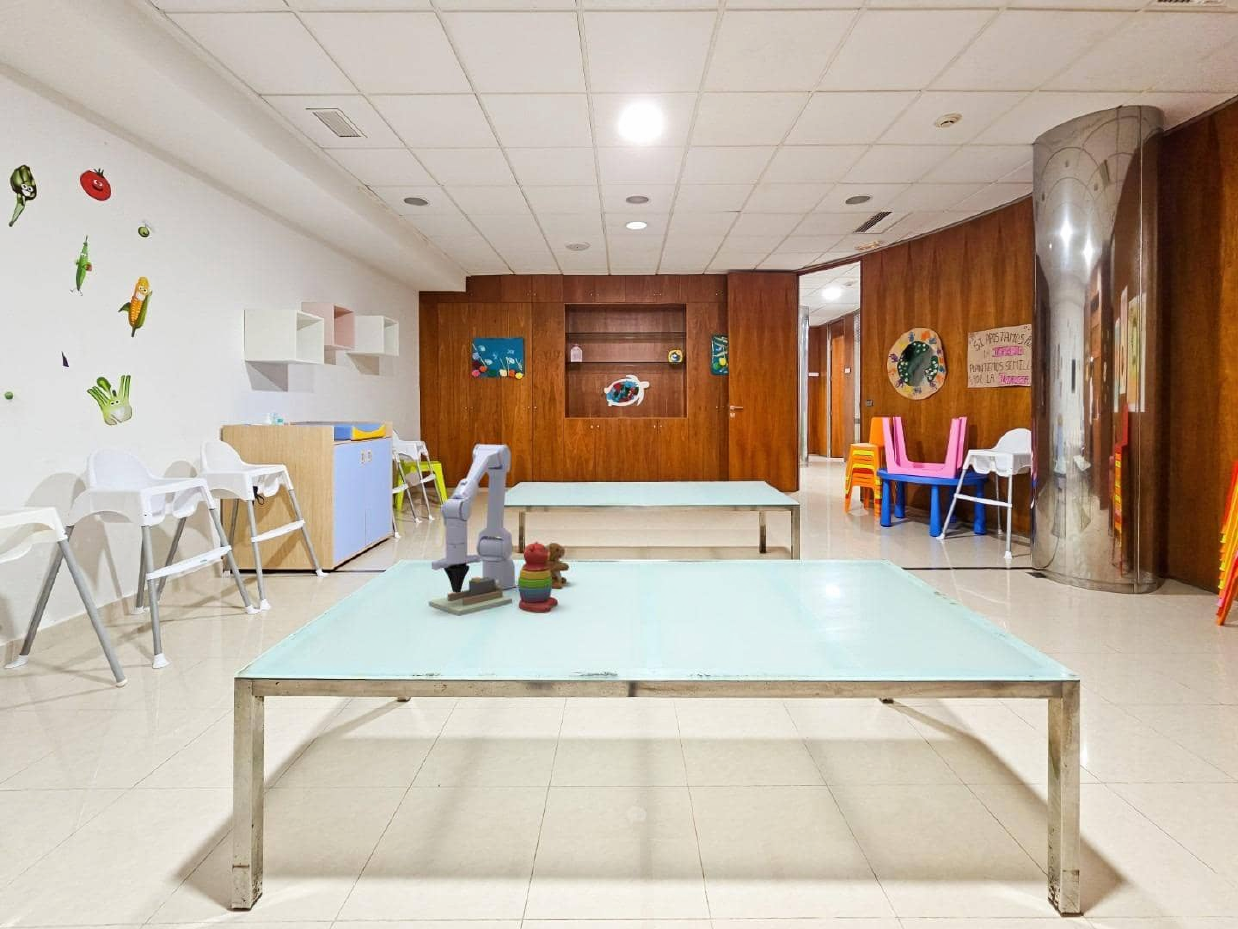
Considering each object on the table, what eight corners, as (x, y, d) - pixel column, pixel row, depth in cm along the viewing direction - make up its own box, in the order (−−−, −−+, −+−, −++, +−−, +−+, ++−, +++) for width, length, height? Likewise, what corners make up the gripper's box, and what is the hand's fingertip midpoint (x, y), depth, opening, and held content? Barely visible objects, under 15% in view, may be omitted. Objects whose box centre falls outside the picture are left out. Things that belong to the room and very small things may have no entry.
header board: (481, 593, 206) (481, 574, 206) (512, 602, 197) (512, 582, 197) (428, 605, 193) (428, 584, 193) (458, 615, 184) (458, 593, 183)
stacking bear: (548, 613, 187) (548, 547, 186) (512, 611, 189) (512, 545, 188) (559, 603, 197) (559, 540, 196) (525, 600, 199) (525, 539, 198)
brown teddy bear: (563, 589, 213) (563, 547, 212) (519, 586, 216) (519, 544, 215) (572, 582, 223) (572, 541, 222) (530, 579, 226) (530, 539, 225)
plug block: (486, 594, 201) (486, 574, 201) (494, 596, 199) (494, 576, 198) (469, 598, 197) (469, 577, 196) (477, 600, 194) (477, 580, 194)
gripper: (469, 537, 198) (469, 584, 199) (425, 544, 188) (425, 593, 188) (485, 540, 194) (484, 589, 195) (440, 547, 183) (440, 598, 184)
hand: (456, 591), depth 191 cm, fingers closed
